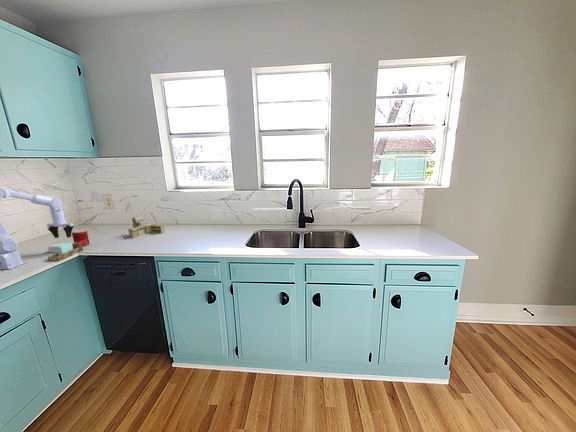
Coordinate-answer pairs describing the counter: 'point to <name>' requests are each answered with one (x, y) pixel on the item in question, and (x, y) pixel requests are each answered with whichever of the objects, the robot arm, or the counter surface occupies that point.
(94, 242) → the counter surface
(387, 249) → the counter surface
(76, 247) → the track
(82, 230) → the canned food
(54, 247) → the skincare box
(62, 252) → the door panel
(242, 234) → the counter surface
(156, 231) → the toy kitchen set
